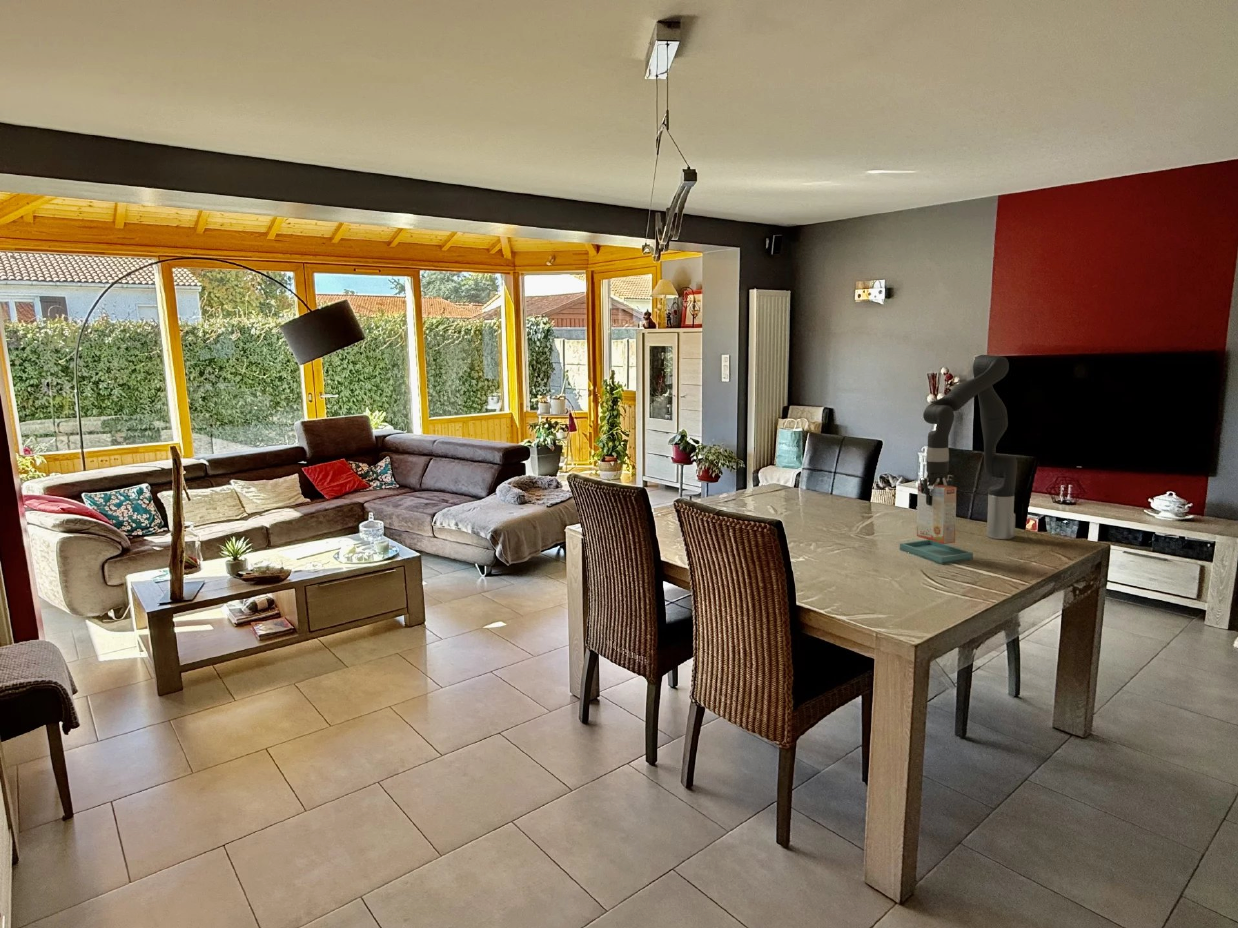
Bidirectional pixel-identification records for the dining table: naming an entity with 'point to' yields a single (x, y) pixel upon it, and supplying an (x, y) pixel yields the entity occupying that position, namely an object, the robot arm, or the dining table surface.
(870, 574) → the dining table surface
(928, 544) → the teal tray
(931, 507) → the cracker box
